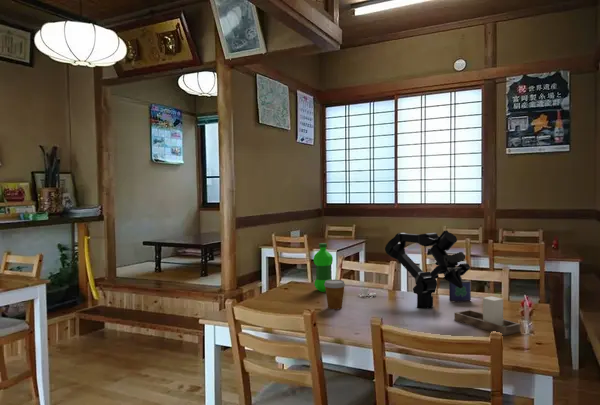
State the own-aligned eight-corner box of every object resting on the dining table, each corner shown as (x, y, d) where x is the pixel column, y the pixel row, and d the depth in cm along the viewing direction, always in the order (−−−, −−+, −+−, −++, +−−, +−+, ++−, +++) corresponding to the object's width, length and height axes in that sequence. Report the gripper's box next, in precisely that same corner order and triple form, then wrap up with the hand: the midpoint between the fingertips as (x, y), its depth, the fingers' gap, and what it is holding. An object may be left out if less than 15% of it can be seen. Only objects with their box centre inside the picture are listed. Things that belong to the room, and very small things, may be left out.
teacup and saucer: (377, 296, 223) (377, 288, 223) (371, 299, 216) (371, 291, 216) (361, 294, 228) (361, 286, 228) (355, 297, 221) (354, 289, 221)
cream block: (483, 323, 170) (482, 297, 170) (491, 321, 172) (491, 296, 172) (494, 327, 166) (494, 300, 165) (503, 325, 168) (503, 299, 168)
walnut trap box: (454, 320, 180) (454, 312, 180) (470, 316, 184) (469, 309, 184) (504, 336, 160) (504, 327, 159) (520, 331, 164) (520, 323, 164)
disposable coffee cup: (348, 306, 204) (347, 280, 203) (341, 311, 195) (340, 284, 195) (328, 304, 208) (328, 278, 207) (321, 309, 199) (320, 282, 199)
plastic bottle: (337, 290, 236) (336, 243, 236) (324, 293, 229) (324, 245, 228) (322, 287, 243) (321, 242, 242) (310, 291, 235) (309, 244, 234)
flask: (469, 300, 211) (469, 276, 211) (472, 302, 208) (471, 277, 207) (448, 300, 211) (448, 276, 211) (450, 302, 208) (450, 277, 208)
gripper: (436, 246, 181) (457, 278, 172) (467, 244, 191) (489, 274, 181) (421, 262, 188) (441, 294, 179) (452, 260, 198) (472, 289, 188)
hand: (461, 287), depth 182 cm, fingers closed
